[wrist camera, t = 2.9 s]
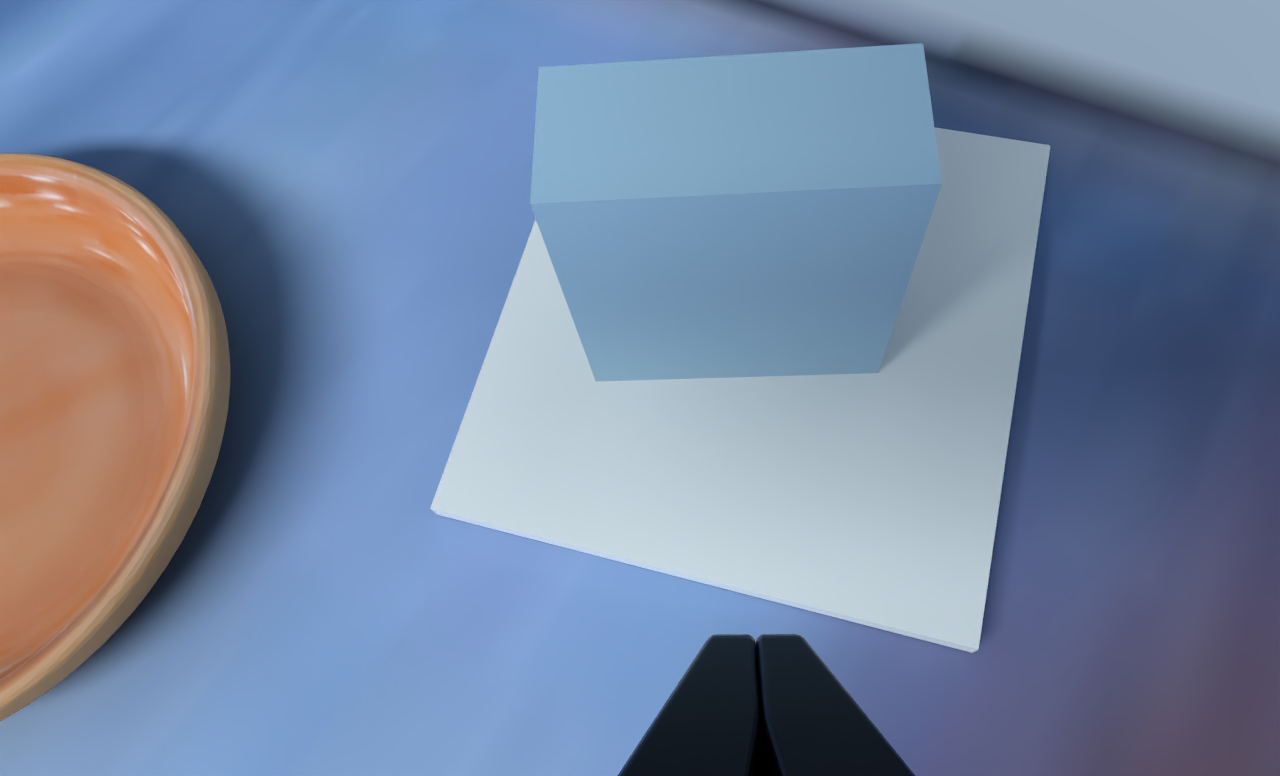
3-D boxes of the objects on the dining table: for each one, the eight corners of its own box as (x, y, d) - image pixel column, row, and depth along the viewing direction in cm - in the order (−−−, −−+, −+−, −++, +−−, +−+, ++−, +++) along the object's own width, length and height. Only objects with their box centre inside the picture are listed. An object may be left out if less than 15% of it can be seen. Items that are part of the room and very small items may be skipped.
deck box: (878, 373, 23) (941, 183, 16) (595, 381, 24) (530, 203, 16) (867, 266, 24) (923, 42, 17) (598, 277, 25) (538, 66, 17)
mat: (972, 652, 21) (978, 649, 20) (437, 514, 23) (430, 508, 23) (1043, 158, 26) (1050, 145, 25) (591, 87, 28) (588, 73, 27)
